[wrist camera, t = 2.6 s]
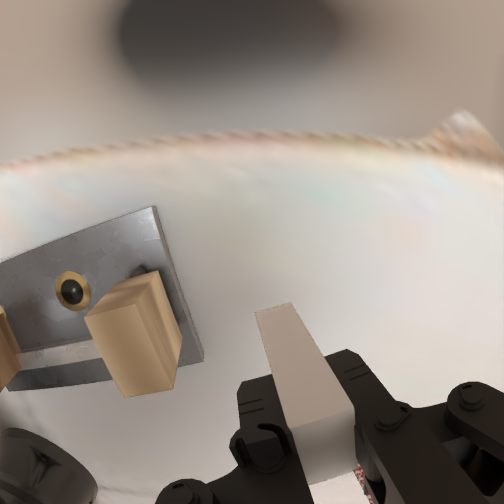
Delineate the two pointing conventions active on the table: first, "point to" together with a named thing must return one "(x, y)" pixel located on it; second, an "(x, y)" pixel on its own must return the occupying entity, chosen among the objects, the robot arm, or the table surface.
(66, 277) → the bolt plate
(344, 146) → the table surface
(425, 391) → the table surface
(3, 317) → the fixed leg
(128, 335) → the block
